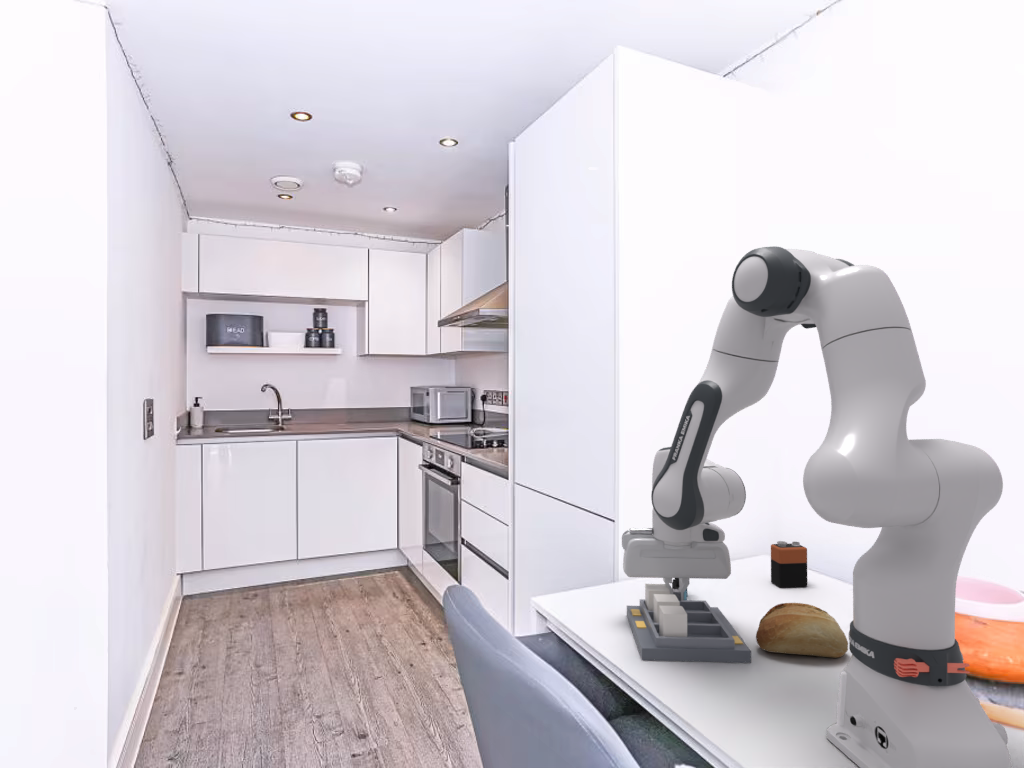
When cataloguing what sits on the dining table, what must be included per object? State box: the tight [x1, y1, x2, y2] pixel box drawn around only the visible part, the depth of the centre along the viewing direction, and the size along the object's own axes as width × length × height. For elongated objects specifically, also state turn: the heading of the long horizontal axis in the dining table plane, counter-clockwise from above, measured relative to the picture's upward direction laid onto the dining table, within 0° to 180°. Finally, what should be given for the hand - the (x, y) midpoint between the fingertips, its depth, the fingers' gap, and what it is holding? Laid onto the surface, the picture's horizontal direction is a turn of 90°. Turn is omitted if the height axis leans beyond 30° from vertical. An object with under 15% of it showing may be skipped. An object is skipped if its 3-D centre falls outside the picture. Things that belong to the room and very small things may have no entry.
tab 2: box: [653, 594, 680, 623], centre depth 111 cm, size 4×4×5 cm
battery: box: [770, 540, 808, 589], centre depth 140 cm, size 4×7×10 cm, turn 96°
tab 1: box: [644, 583, 670, 611], centre depth 117 cm, size 4×4×5 cm
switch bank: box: [626, 598, 752, 664], centre depth 111 cm, size 20×18×4 cm
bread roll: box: [755, 602, 849, 659], centre depth 105 cm, size 10×15×8 cm, turn 86°
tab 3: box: [659, 606, 687, 637], centre depth 105 cm, size 4×4×5 cm
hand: (676, 599), depth 117 cm, fingers closed
